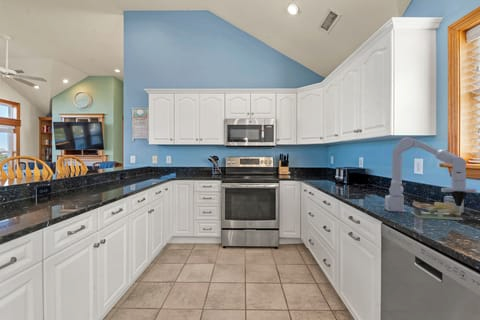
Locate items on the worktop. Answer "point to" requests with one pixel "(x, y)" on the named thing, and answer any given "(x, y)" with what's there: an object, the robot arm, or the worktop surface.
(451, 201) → the medicine box
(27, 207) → the worktop surface
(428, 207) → the flat elongated piece
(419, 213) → the stand
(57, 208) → the worktop surface
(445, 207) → the slider
